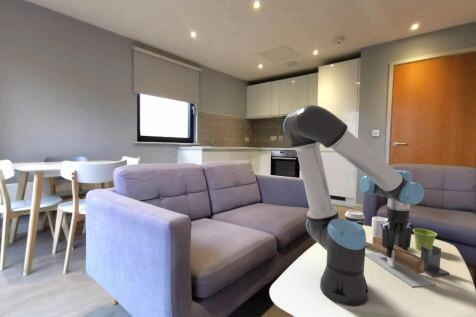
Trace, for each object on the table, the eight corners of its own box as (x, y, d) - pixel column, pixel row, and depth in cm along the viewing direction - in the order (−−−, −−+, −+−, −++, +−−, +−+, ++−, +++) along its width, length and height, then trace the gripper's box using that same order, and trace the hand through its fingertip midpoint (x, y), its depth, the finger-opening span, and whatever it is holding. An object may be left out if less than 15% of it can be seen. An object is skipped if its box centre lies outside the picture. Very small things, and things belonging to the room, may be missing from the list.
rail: (415, 273, 88) (416, 260, 87) (372, 248, 109) (372, 237, 109) (423, 273, 88) (424, 260, 88) (379, 247, 110) (379, 236, 110)
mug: (399, 245, 122) (400, 222, 121) (388, 248, 118) (389, 224, 117) (377, 237, 132) (378, 215, 132) (366, 239, 129) (368, 217, 128)
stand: (431, 276, 93) (433, 252, 92) (384, 249, 116) (385, 230, 116) (449, 275, 94) (451, 251, 93) (398, 248, 118) (399, 229, 117)
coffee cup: (364, 239, 128) (365, 211, 127) (362, 245, 120) (364, 216, 119) (345, 235, 133) (346, 209, 132) (342, 241, 125) (343, 213, 124)
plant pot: (440, 254, 112) (441, 236, 112) (418, 252, 114) (419, 234, 113) (428, 246, 122) (429, 229, 121) (407, 244, 123) (408, 227, 123)
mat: (411, 287, 85) (411, 286, 85) (362, 253, 111) (362, 253, 111) (435, 285, 87) (435, 283, 87) (381, 252, 113) (381, 251, 113)
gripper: (387, 211, 92) (384, 270, 94) (424, 210, 95) (420, 267, 97) (373, 206, 100) (370, 261, 101) (407, 205, 103) (404, 258, 104)
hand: (394, 264), depth 99 cm, fingers closed on rail, 3 cm apart
